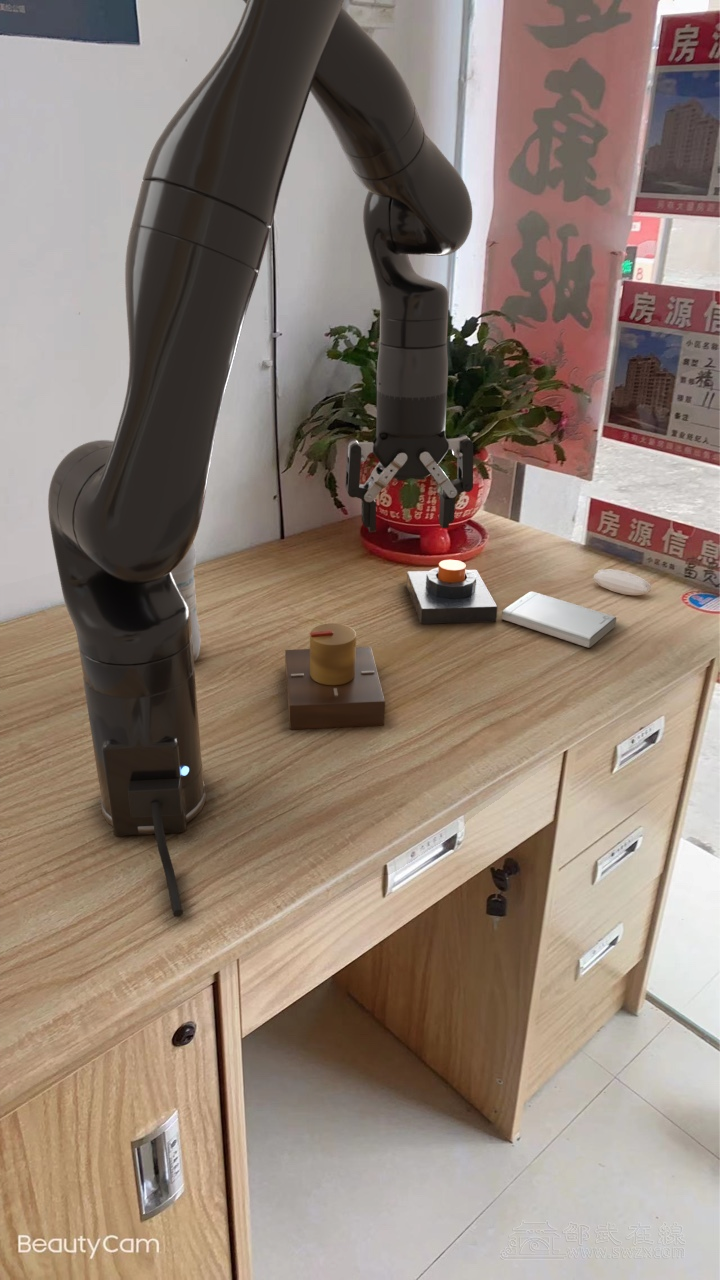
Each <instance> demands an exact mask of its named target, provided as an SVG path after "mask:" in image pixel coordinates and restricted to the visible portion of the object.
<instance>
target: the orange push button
mask: <svg viewBox="0 0 720 1280" xmlns="http://www.w3.org/2000/svg"><path fill="white" fill-rule="evenodd" d="M466 566H467V565H466V563H465V562H463V561H461V560H457V559H444V560H441V561H439V563H438V567H439V569H438V579H439V580H441V581H443V582H449V583H459V582H462V581H464V580H465V569H466V568H467V567H466ZM466 570H467V569H466Z"/></svg>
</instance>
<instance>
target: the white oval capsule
mask: <svg viewBox="0 0 720 1280" xmlns="http://www.w3.org/2000/svg"><path fill="white" fill-rule="evenodd" d="M592 580H593V581H594V582H595V583H596V584H598V585H599V586H600V587H602V588H604V589H606V590H609V591H611V592H614V593H617V594H622V595H628V596H642V595H646V594H648V592H650V591H652V585H651V583H650V582H649V581H647V580H646V579H644V578H643V577H640V576H638V575H636V574H634V573H632V572H628V571H624V570H621V569H610V568H607V569H603V568H601V569H599V570H598V571H597V572H596V573H594V575H593V579H592Z"/></svg>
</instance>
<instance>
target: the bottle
mask: <svg viewBox="0 0 720 1280" xmlns="http://www.w3.org/2000/svg"><path fill="white" fill-rule="evenodd" d="M196 556H197V551H196V547H195V542H194V541H193V544H192V546H191V548H190V549H189V551H188V553H187V554H186V556H185V557H184V559H183V560H182V561H181V562H180V563H179V565H178V566H177V567H176V568H175V569H174V570H172V571H171V573H172V575H173V578H174V580H175V582H176V584H177V586H178V588H179V590H180V591H181V593H182V595H183V596H184V598H185V600H186V602H187V604H188V607H189V610H190V617H191V629H192V644H193V657H194V662H195V661H196V660H197V659H198V658H199V655H200V652H201V641H202V640H201V631H200V623H199V617H198V612H197V611H198V610H197V597H196V584H195V583H196V582H195V572H194V571H195V570H194V569H195V568H196V565H197V560H196Z"/></svg>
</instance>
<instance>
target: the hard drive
mask: <svg viewBox="0 0 720 1280" xmlns="http://www.w3.org/2000/svg"><path fill="white" fill-rule="evenodd" d="M501 620H504V621H507V622H510V623H513V624H516V625H518V626H521V627H525V628H528V629H531V630H533V631H537V632H540V633H543V634H545V635H548V636H551V637H554V638H557V639H561V640H563V641H566V642H569V643H573V644H576V645H578V646H581V647H585V648H588V649H589V648H591V647H593V645H595V644H596V643H597V642H599V641H600V640H601V639H602V638H603V637H605V636H606V635H607V634H608V633H610V631H611V630H613V629H614V628H615V627H616V624H617V616H614V615H611V614H609V613H604V612H601V611H598V610H594V609H591V608H589V607H585V606H582V605H579V604H575V603H572V602H569V601H565V600H562V599H560V598H556V597H552V596H550V595H545V594H543V593H539V592H536V591H533V590H531V591H529V592H527V593H526V594H524V595H523V596H521V597H519V598H518V599H517V600H515V601H513V602H512V603H511V604H509V605H508V606H507V607H505V608H503V610H502V612H501Z"/></svg>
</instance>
